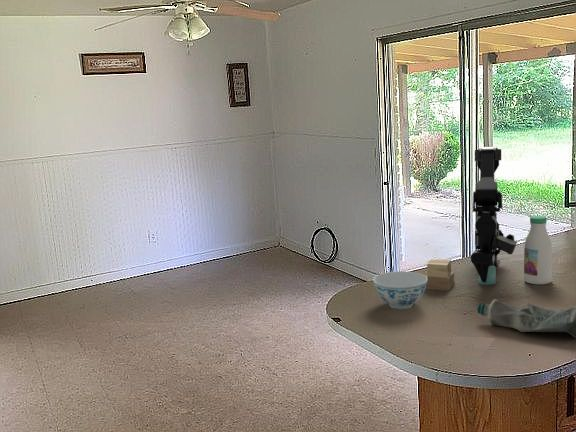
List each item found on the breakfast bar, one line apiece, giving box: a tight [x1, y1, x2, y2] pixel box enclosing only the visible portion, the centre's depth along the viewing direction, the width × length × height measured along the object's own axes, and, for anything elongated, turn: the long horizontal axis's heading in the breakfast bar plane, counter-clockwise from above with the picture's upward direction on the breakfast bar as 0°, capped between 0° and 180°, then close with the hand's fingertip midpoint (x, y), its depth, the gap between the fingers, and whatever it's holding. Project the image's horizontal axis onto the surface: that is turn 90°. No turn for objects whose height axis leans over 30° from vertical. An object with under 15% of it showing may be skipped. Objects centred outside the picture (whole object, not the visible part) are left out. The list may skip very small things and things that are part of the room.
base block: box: [425, 271, 455, 292], centre depth 186 cm, size 8×8×4 cm
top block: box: [426, 258, 452, 278], centre depth 185 cm, size 6×6×4 cm
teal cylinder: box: [477, 265, 497, 286], centre depth 186 cm, size 5×5×5 cm
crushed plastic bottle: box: [477, 298, 576, 339], centre depth 149 cm, size 13×7×25 cm
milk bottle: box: [523, 215, 553, 285], centre depth 183 cm, size 8×8×20 cm
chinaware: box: [372, 270, 427, 310], centre depth 171 cm, size 15×15×8 cm
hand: (486, 277), depth 186 cm, fingers open, 9 cm apart
